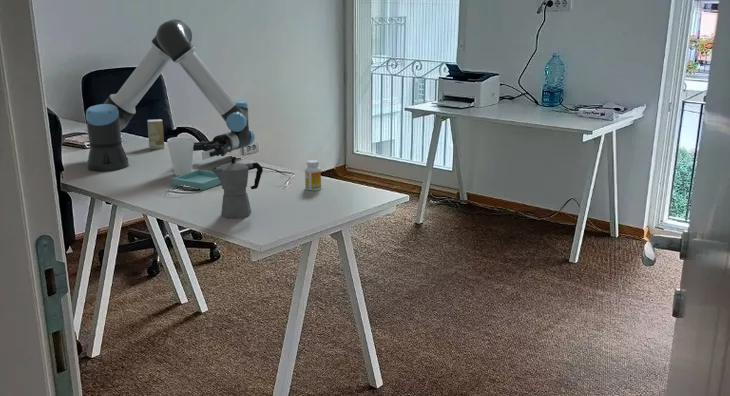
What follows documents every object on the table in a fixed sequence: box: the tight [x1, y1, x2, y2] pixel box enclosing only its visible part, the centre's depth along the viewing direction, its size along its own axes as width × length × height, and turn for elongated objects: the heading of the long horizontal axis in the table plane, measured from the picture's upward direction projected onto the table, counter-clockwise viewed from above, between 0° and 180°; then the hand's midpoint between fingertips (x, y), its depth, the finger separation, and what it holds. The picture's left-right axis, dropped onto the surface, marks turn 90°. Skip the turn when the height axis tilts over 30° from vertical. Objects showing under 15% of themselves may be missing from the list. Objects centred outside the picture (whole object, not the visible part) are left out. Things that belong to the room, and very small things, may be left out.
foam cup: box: [166, 136, 195, 176], centre depth 254 cm, size 10×9×13 cm
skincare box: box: [147, 118, 165, 150], centre depth 295 cm, size 6×4×12 cm
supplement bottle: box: [304, 159, 322, 191], centre depth 235 cm, size 5×5×10 cm
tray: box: [171, 169, 221, 191], centre depth 243 cm, size 14×14×2 cm
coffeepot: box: [211, 156, 264, 220], centre depth 207 cm, size 15×9×18 cm, turn 111°
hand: (188, 154), depth 256 cm, fingers open, 13 cm apart
